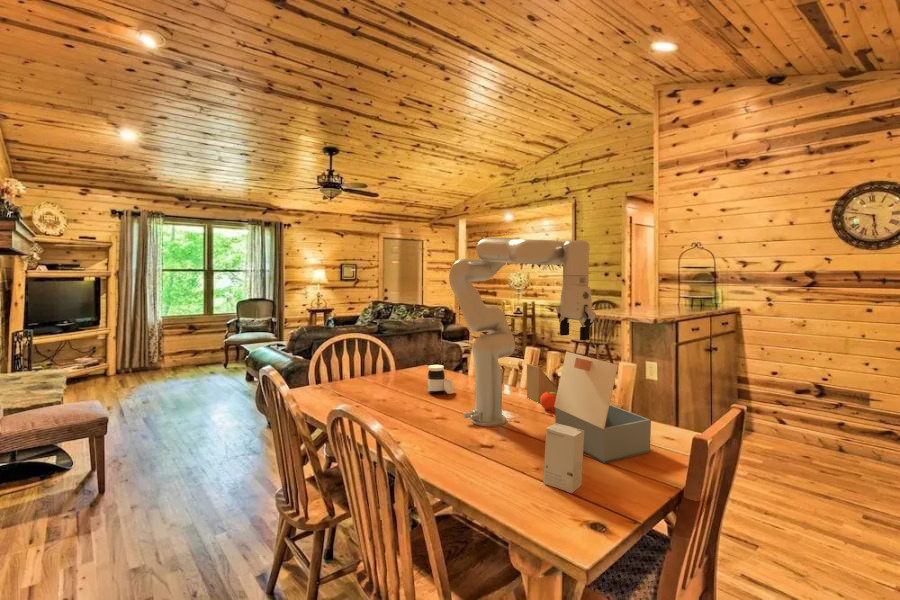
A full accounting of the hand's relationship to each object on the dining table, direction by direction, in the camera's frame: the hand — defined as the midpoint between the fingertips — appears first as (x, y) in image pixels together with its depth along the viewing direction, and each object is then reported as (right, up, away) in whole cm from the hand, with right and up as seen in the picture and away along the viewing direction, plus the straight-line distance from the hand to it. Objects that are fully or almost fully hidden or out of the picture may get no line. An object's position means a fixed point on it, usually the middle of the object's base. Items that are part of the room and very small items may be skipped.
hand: (574, 337), depth 139 cm
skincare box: (-9, -36, -22) cm, 43 cm away
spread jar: (-42, -30, +63) cm, 82 cm away
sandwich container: (+3, -30, +53) cm, 61 cm away
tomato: (+1, -31, +38) cm, 49 cm away
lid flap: (+3, -15, -1) cm, 15 cm away
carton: (+9, -34, +3) cm, 35 cm away
